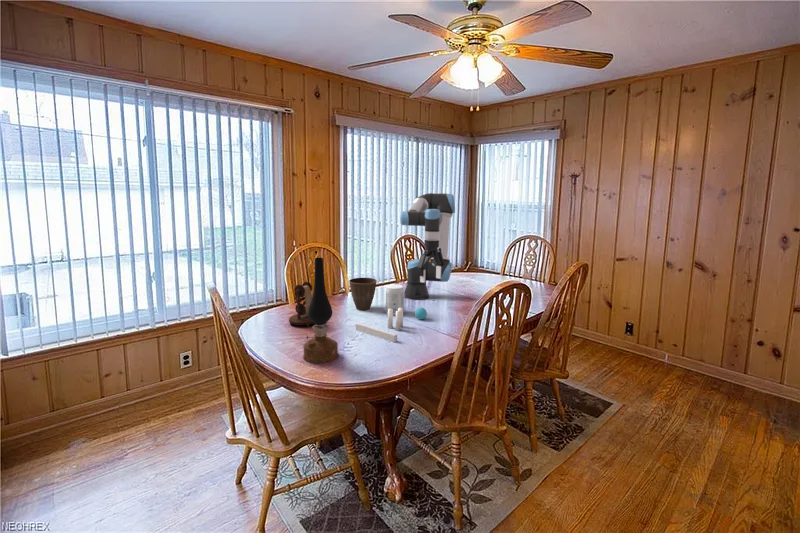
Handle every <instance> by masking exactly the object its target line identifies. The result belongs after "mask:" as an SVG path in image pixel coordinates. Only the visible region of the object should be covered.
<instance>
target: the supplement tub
mask: <svg viewBox="0 0 800 533" xmlns="http://www.w3.org/2000/svg"><path fill="white" fill-rule="evenodd" d="M404 292H405V291H404V285H401V284H387V285H386V286H385V313H386V314H387V315H388V309H393V316H396V311H398V308H403V313H404V311H405V310H404V308H405V307H404V306H405V305H404V303H405V302H404V299H405V297H404Z"/></svg>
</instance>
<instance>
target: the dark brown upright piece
mask: <svg viewBox="0 0 800 533" xmlns="http://www.w3.org/2000/svg"><path fill="white" fill-rule="evenodd" d="M312 291H313V286H312V284H311V282H309V281H304V282H303V283H302V284H296V285H295V287H294V293H295V295H296V299H295V303H296V305H295V306H294V307H295V308H294V309H295V312H296V313H294V314H293V315H291V316H289V318H288V323H289V325H290V324H291V325H298V326H304V325H306V328H308V327H310V325H312V324H313V325H314V322H312V321H311V320H310V319H309V317H308V308H309V305H310V302H311V299H312ZM302 301H303V302H302ZM301 302H302V303H301Z"/></svg>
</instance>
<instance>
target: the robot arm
mask: <svg viewBox="0 0 800 533" xmlns="http://www.w3.org/2000/svg"><path fill="white" fill-rule="evenodd" d="M455 213H456V202H455V196H454V194H452V193H446V192H445V193H429V192H428V193H425V194H422V195H419V196H417V197H416V198H415V199H414V200H413V202H412V206H410V208H409V210H408V211H407V210H403V211H401V212H400V216H399V218H400V219H399V221H400V225H401V226H406V227H408V226H410V227H424V241H423V242H424V245H423V246H424V247H425V250H424V249H422V250H421V253H420V257H419V258H415V259H410V260H409V261H408V262H407V268H406V269H407V275H406V276H407V278H406V279H407V280H406V281H407V282H406V287H405V291H404V299H405V298H406V299H408V300H415V301H419V300H425V299H428V298H429V296H430V295H429V294H430V293H429V291H428V286H427V281H428V282H440V283H443V282H445V283H447V282H449V280H450V278H451V273H452V270H453V268H452V267H453V263H452V262H450V261H451V259H450V258H449V257H448V256H449V255H448V254H449V239H450V224H451V221H450V220H451V218H452V217H453V214H455Z"/></svg>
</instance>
